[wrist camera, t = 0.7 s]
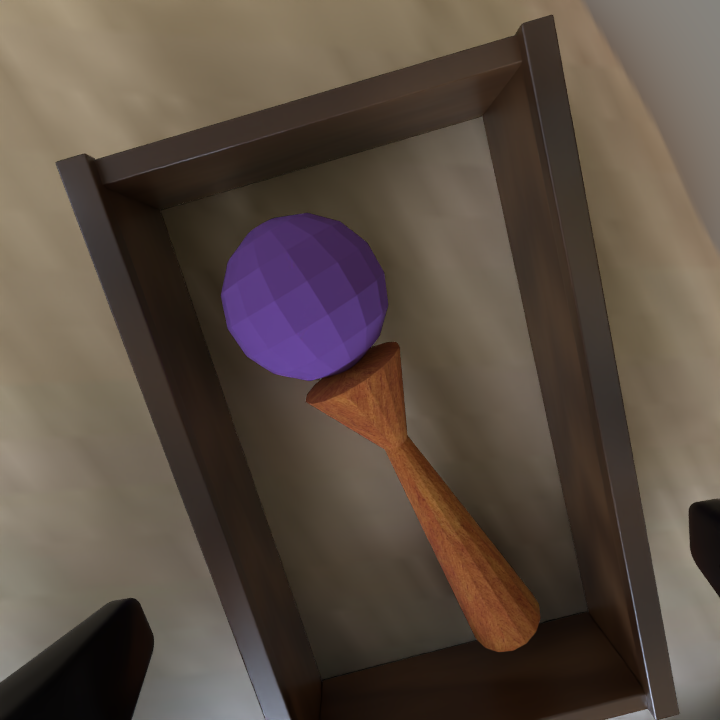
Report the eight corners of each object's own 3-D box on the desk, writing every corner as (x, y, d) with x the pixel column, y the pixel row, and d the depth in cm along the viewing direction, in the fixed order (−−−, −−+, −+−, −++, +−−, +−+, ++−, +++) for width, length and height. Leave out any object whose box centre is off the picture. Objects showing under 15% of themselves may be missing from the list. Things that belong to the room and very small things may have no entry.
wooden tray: (608, 621, 22) (680, 715, 17) (310, 698, 22) (299, 811, 18) (498, 87, 18) (554, 12, 13) (133, 194, 18) (53, 161, 13)
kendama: (452, 701, 18) (153, 281, 13) (441, 584, 24) (228, 260, 19) (594, 660, 16) (313, 172, 12) (547, 546, 22) (343, 185, 17)
